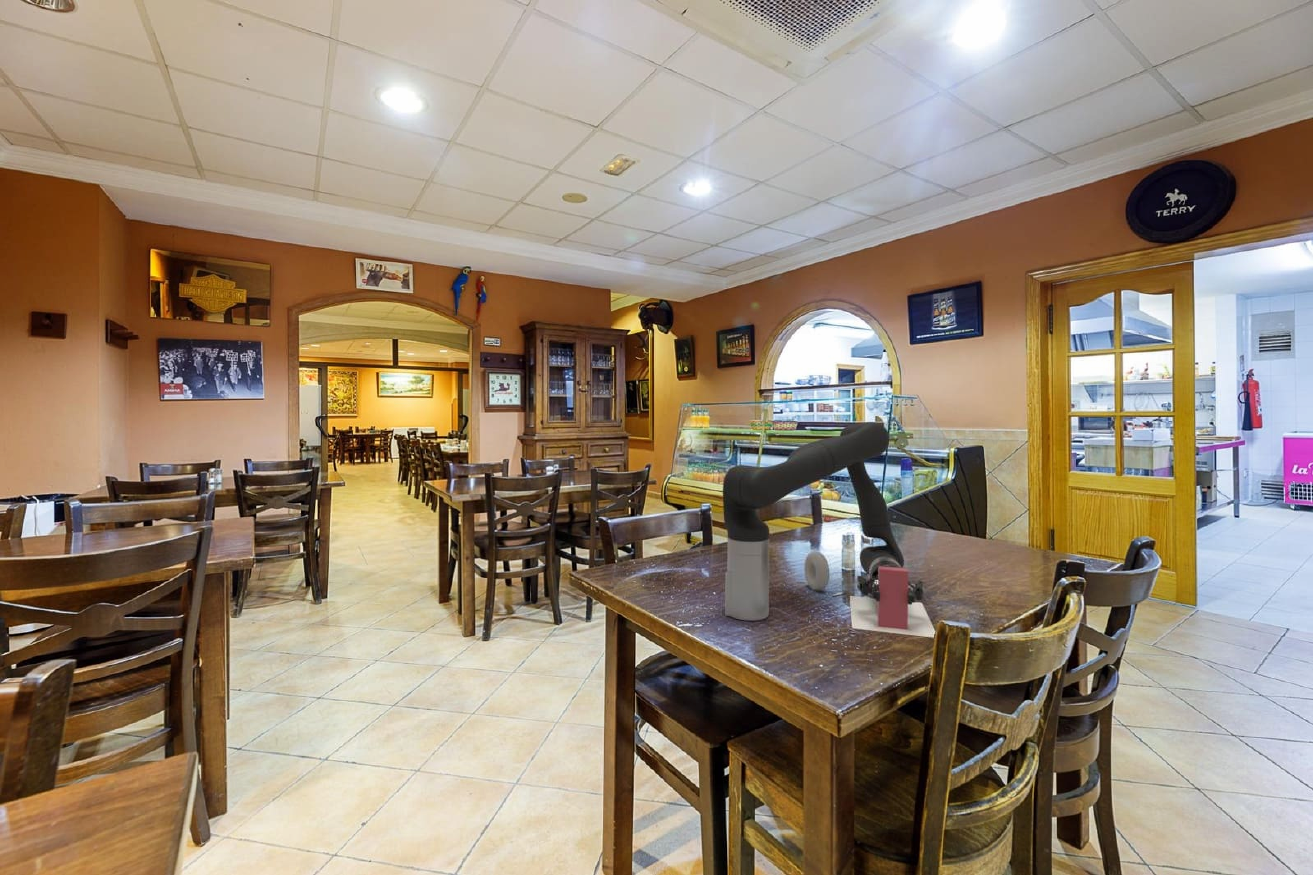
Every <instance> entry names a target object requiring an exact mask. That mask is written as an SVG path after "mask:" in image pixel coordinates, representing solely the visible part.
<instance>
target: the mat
mask: <svg viewBox="0 0 1313 875" xmlns="http://www.w3.org/2000/svg"><path fill="white" fill-rule="evenodd" d="M849 602H850V617H851V629H854V630H864V631H871V632H873V631H874V632H880V633H891V634H900V635H907V636H918V637H924V638H925V637H926V638H932V639H935V638H934V634H935V632H936V630H935V628H934V626H933V623H932V621H931V619H930V617H929V615H928V613H927V611H926V608H925V606H924V605H923V603H922V602H919V601H918V602H917V601H915V603H912V605H909V604H908V630H906V629H897V628H888V627H879V626H878V601H876V599H873V598H872V597H868V596H867V597H864V596H855V595H849Z"/></svg>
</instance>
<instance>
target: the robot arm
mask: <svg viewBox="0 0 1313 875" xmlns="http://www.w3.org/2000/svg"><path fill="white" fill-rule="evenodd" d="M889 443H890V434H889V431H888V430H887V428H886V427H885V426H884V425H882V424H881V423H879V422H875V421H874V422H871V421H868V422H862V423H856V424H851V425H846V426H845V427H843V428H842V430H841V431H840V434H839V436H832V437H827V438H822V439H819V440H815V441H812V442H809V443H806V444H803V445H800V446H798V447H797V448H795V449H794V450H793V451H791V453H790V454H789V455H788V457H787V460H786V461H783V462H781V463H778V464H774V465H770V466H752V465H750V466H749V465H742V464H741V465H734V466H732V467H731V468H730V469H729V470H728V471H727V472H726V474H725V476H724V478H723V484H722V505H723V522H724V526H725V528H726V530H727V531H726V532H727V561H726V562H727V563H726V564H727V565H726V566H727V569H726V572H725V574H724V576H725V577H724V578H725V579H724V580H725V581H724V591H725V592H724V615H725V616H726V617H731V618H734V619H736V620H741V621H761V620H764V619H766V618H768V617H769V613H770V612H769V608H770V605H769V604H770V598H769V597H770V592H769V591H770V528H769V526H768V525H767V523H766V522H764V521H763V520H762V519H761V518H760V516H759V515H758V514H757V512H756V510H761V509H766V508H768V507H770V506H771V505H774V504H776V503H777V502H779V501H780V500H782V499H783V498H785V497H786V496H788V495H789V494H792V493H794V492H795V491H797V490H800V489H803V488H805V487H807V486H809V485H812V484H814V483H817V482H820V481H821V480H823V479H826V478H828V477H830V476H832V475H834V474H836V473H838V472H840V471H842V470H844V469H846V470H847V473H848V476H849V479H850V481H851V484H852V488H853V491H854V494H855V497H856V501H857V505H858V510H859V512H858V513H859V516H860V523H861V529H862V533H863V535H864V537H867V538H870V539H879V540H882V541H883V542H884V543H885V545H874V546H867V547H864V548H862V550H861V551H860V553H859V561H860V566H861V567H862V569H863V571H864V572H865V573H866V574H867V575H868V577H869V578H868V579H867V578H865V577H863V576H861V575H858V576H856V587H857V589H858V591H859V592H860V593H861V595H863V596H867V595H869V594H870V596H871V598H873V599H876V601H879V602H880V590H879V588H878V566H882V567H895V568H904V565H905V558H904V555H903V553H902V551H901V548H900V547H899V545H898V543H897V541H896V539H895V536H894V533H893V530H892V526H891V521H890V515H889V510H888V508H889V507H888V504H887V502H886V499H885V498H884V496H883V494H882V493H881V491H880V489H878V487H877V486H876V484H875V483H874V482H873V480H872V479H871V477H870V475H869V474H868V471H867V468H866V464H865V460H868V459H872V458H877V457H880V456H881V455H883V454H884V453H885V452H886V451H887V449H888V447H889ZM924 582H925V581H922V580H921V581H920V580H918V581H917V582H916V581H915V582H914V583H911V582H910V581H909V580H908V604H909V605H912V603H915V602H916V601H922V600H923V597H924V592H925V591H924V590H925V588H924V585H925V584H924Z"/></svg>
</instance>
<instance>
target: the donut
mask: <svg viewBox="0 0 1313 875" xmlns="http://www.w3.org/2000/svg"><path fill="white" fill-rule="evenodd" d="M803 570H804V577H805V580H806V583H807V584H808V586H809V587H810V588H811V589H812V590H813V591H817V592H819V591H820V592H821V591H824V590H826V588H827V586H828V585H829V581H830V568H829V564H828V561H827V559H826V557H825V555H824V554H823V553H822V552H820V551H815V550H814V551H811V552H809V553H808V554H807V556H806V557H805V561H804V568H803Z"/></svg>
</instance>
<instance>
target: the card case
mask: <svg viewBox="0 0 1313 875" xmlns="http://www.w3.org/2000/svg"><path fill="white" fill-rule="evenodd" d="M908 581H909V570H908V568H905V567H903V568H895V567H882V566H878V588H879V590H880V602H879V601H878V626H879V627H888V628H897V629H906V630H908Z"/></svg>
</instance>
